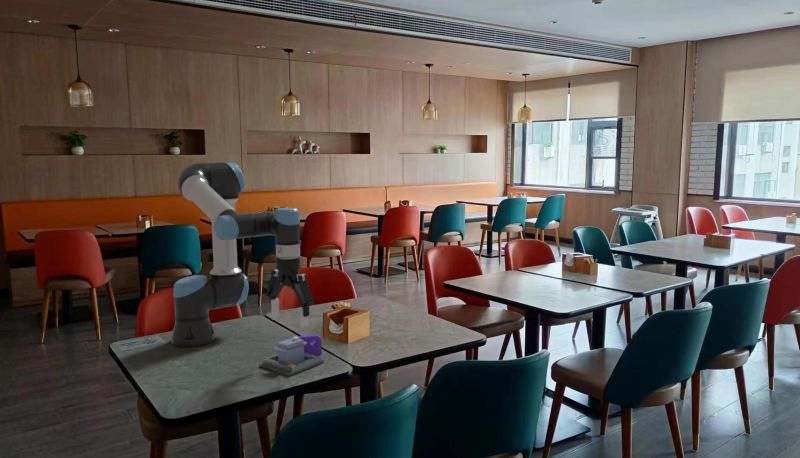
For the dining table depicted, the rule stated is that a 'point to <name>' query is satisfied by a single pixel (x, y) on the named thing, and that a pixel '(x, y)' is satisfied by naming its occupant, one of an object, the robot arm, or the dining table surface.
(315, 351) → the purple block
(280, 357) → the servo
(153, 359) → the dining table surface
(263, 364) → the tray
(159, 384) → the dining table surface
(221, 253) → the robot arm
